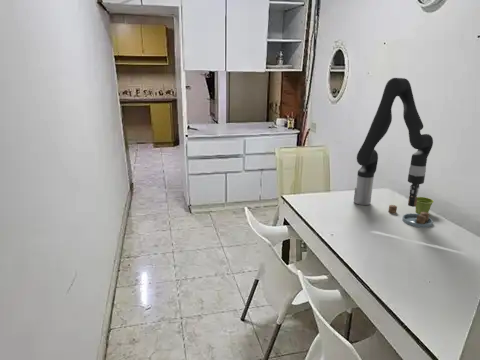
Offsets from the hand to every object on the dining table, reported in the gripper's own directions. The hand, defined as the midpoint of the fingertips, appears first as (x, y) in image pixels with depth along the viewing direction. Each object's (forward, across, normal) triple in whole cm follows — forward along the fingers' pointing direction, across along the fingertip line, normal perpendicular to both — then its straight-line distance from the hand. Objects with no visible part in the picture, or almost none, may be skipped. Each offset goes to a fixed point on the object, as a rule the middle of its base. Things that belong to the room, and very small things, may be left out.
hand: (412, 204), depth 180 cm
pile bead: (+10, -6, -10) cm, 15 cm away
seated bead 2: (+9, -2, +6) cm, 11 cm away
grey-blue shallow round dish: (+10, 0, +4) cm, 10 cm away
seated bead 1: (+9, +3, +5) cm, 11 cm away
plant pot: (+10, -15, +4) cm, 18 cm away
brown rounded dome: (0, 0, 0) cm, 0 cm away
